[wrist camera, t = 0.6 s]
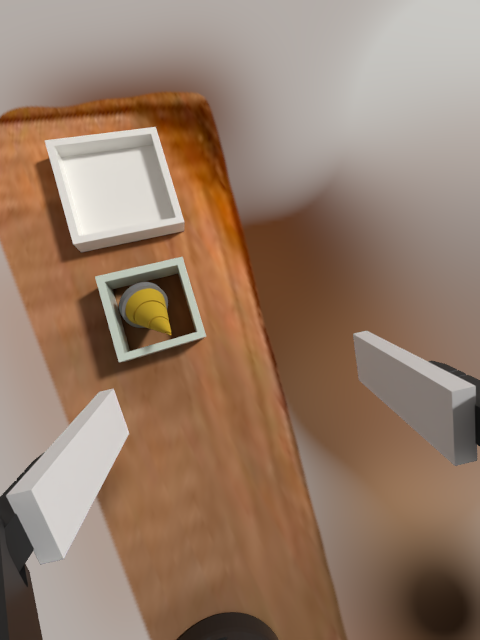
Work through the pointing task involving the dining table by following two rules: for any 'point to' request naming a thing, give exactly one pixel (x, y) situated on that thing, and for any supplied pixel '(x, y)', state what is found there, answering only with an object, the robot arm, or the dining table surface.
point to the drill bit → (145, 307)
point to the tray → (115, 188)
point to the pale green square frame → (137, 276)
